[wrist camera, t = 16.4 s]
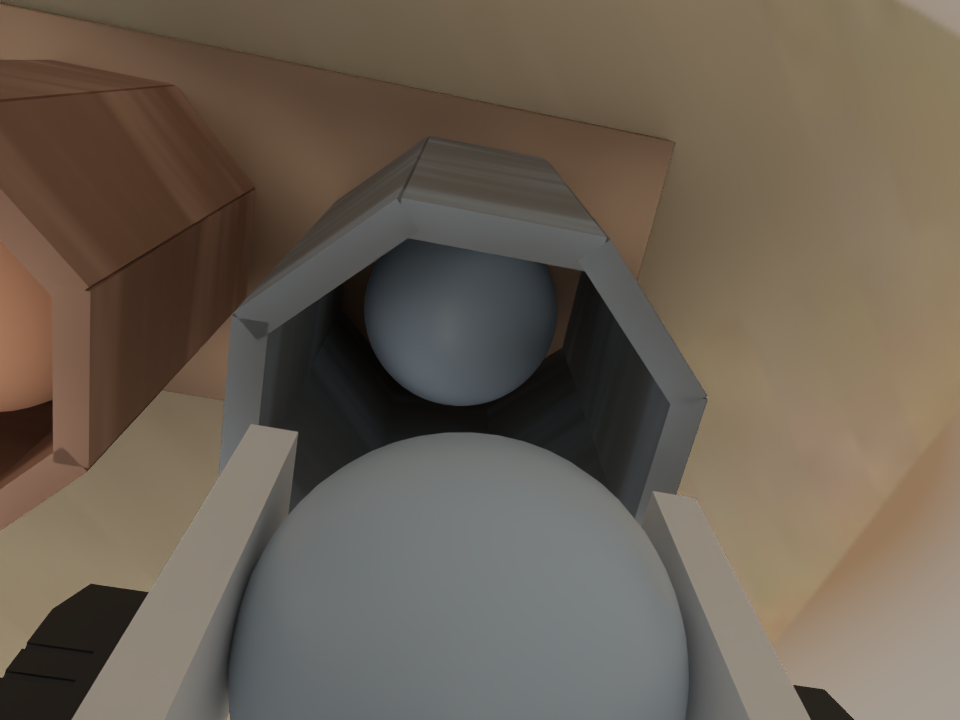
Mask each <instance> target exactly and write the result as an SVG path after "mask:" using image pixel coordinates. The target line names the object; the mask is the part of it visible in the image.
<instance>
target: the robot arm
mask: <svg viewBox="0 0 960 720" xmlns="http://www.w3.org/2000/svg"><path fill="white" fill-rule="evenodd" d="M297 439H298V432H296V431H290V430H284V429H278V428H272V427H266V426H260V425H254V424H251V425H250V427H249V428H248V430H247V432H246V433H245V435H244V437H243V438H242V440H241V442H240V443H239V445H238V446H237V448H236V450H235V451H234V453H233V455H232V456H231V458H230V460H229V461H228V463H227V465H226V466H225V468H224V469H223V471H222V473H221V474H220V476H219V478H218V479H217V481H216V483H215V484H214V486H213V488H212V489H211V491H210V493H209V494H208V496H207V497H206V499H205V501H204V502H203V504H202V506H201V507H200V509H199V511H198V512H197V514H196V516H195V517H194V519H193V521H192V522H191V524H190V525H189V527H188V529H187V530H186V532H185V534H184V535H183V537H182V539H181V540H180V542H179V544H178V545H177V547H176V548H175V550H174V552H173V553H172V555H171V557H170V558H169V560H168V562H167V563H166V565H165V567H164V568H163V570H162V572H161V573H160V575H159V576H158V578H157V580H156V581H155V583H154V585H153V586H152V588H151V590H150V591H149V592H143V591H136V590H129V589H122V588H115V587H109V586H102V585H95V584H90V585H88V586H87V587H85V588H84V589H82V590H81V591H79V592H78V593H76V594H75V595H73V596H72V597H70V598H69V599H67V600H66V601H64V602H63V603H61V604H59V605H58V606H56V607H55V608H53V609H52V610H51V612H50V613H49V614H48V616H47V617H46V618H45V620H44V621H43V622H42V623H41V625H40V626H39V627H38V629H37V630H36V631H35V633H34V634H33V635H32V636H31V638H30V639H29V640H28V642H27V645H26V648H25V649H22V650H21V651H20V652H19V653H18V655H17V656H16V657H15V659H14V660H13V661H12V663H11V664H10V665H9V667H8V668H7V669H6V672H5V675H4V677H3V678H0V720H226V718H227V716H228V713H229V695H228V664H229V656H230V650H231V644H232V638H233V633H234V627H235V622H236V618H237V614H238V610H239V607H240V604H241V601H242V598H243V595H244V592H245V589H246V586H247V583H248V581H249V578H250V575H251V573H252V571H253V569H254V567H255V566H256V564H257V562H258V560H259V558H260V557H261V555H262V553H263V551H264V550H265V548H266V546H267V544H268V542H269V541H270V539H271V537H272V535H273V534H274V533H275V531H276V530H277V529H278V527H279V526H280V525H281V524H282V522H283V521H284V520H285V518H286V517H287V516H288V513H289V505H290V496H291V488H292V480H293V472H294V464H295V456H296V447H297ZM641 527H642V529H643V530H644V531H645V532H646V534H647V536H648V537H649V539H650V541H651V543H652V544H653V546H654V548H655V549H656V551H657V553H658V555H659V557H660V559H661V561H662V562H663V564H664V566H665V568H666V570H667V573H668V575H669V578H670V581H671V583H672V586H673V588H674V591H675V593H676V597H677V600H678V604H679V607H680V611H681V615H682V619H683V624H684V629H685V633H686V638H687V650H688V663H689V694H688V704H687V713H686V720H854V719H853V718H852V717H851V716H850V715H849V714H848V713H847V712H846V711H845V710H844V709H843V708H842V707H841V706H840V705H839V704H838V703H837V702H836V701H835V700H834V699H833V698H832V697H831V696H830V695H829V694H828V693H827V692H826V691H825V690H823V689H817V688H810V687H803V686H797V685H793V684H792V683H791V680H790V679H789V677H788V675H787V673H786V671H785V669H784V667H783V665H782V663H781V661H780V659H779V657H778V655H777V653H776V652H775V650H774V648H773V646H772V644H771V642H770V640H769V638H768V636H767V634H766V632H765V630H764V628H763V627H762V625H761V623H760V621H759V619H758V617H757V615H756V613H755V611H754V609H753V607H752V605H751V603H750V601H749V600H748V598H747V596H746V594H745V592H744V590H743V588H742V586H741V584H740V582H739V580H738V578H737V576H736V574H735V573H734V571H733V569H732V567H731V565H730V563H729V561H728V559H727V557H726V555H725V553H724V551H723V549H722V547H721V546H720V544H719V542H718V540H717V538H716V536H715V534H714V532H713V530H712V528H711V526H710V524H709V522H708V521H707V519H706V517H705V515H704V513H703V511H702V509H701V507H700V505H699V503H698V501H697V499H696V498H692V497H686V496H680V495H674V494H668V493H662V492H656V491H652V494H651V497H650V500H649V504H648V507H647V510H646V513H645V516H644V519H643V523H642V526H641Z"/></svg>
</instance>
